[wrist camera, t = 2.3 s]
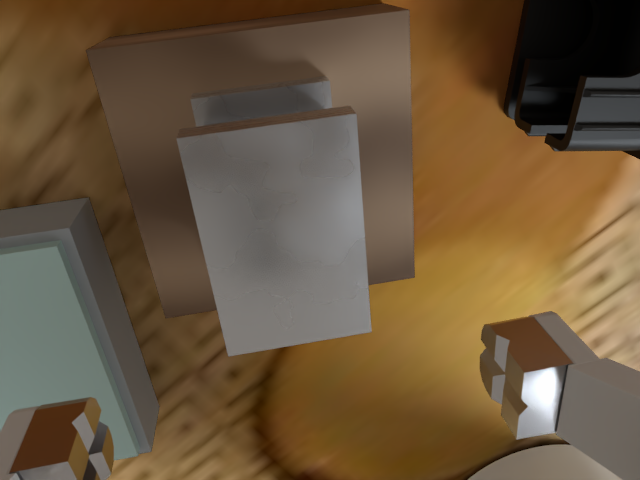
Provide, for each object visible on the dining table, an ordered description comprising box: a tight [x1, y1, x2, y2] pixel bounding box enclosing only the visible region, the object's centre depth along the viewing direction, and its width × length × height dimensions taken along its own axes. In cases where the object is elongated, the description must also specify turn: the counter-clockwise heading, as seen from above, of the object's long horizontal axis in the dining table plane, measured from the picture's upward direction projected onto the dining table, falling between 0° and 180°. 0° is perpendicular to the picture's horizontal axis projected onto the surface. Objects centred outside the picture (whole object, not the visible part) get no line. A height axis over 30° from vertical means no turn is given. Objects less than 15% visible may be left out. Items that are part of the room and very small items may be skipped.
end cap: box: [504, 0, 640, 159], centre depth 22 cm, size 10×7×7 cm
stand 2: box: [86, 3, 415, 318], centre depth 24 cm, size 12×12×4 cm
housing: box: [176, 76, 372, 357], centre depth 20 cm, size 8×5×6 cm, turn 6°
